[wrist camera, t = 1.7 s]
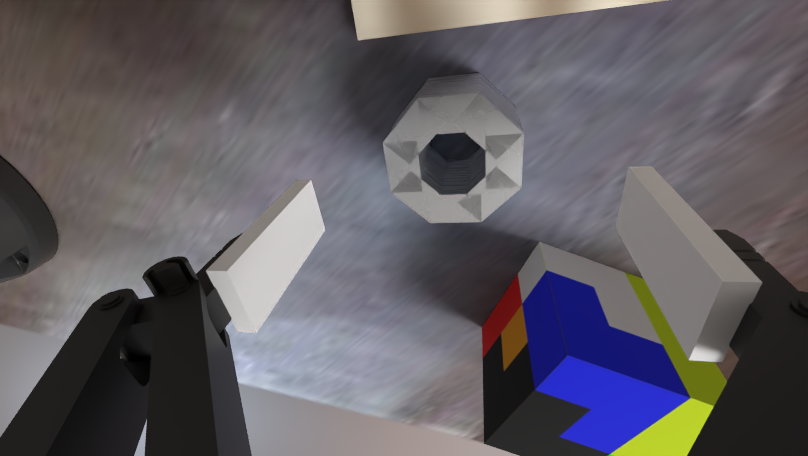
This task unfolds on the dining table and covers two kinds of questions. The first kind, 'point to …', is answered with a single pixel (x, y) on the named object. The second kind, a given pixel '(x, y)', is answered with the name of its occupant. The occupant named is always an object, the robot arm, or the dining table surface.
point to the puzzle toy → (589, 366)
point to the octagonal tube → (461, 178)
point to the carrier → (459, 13)
